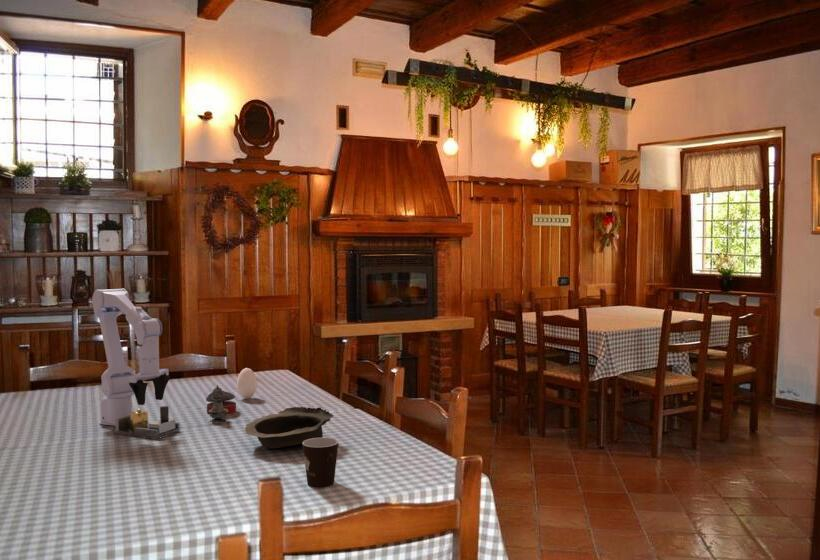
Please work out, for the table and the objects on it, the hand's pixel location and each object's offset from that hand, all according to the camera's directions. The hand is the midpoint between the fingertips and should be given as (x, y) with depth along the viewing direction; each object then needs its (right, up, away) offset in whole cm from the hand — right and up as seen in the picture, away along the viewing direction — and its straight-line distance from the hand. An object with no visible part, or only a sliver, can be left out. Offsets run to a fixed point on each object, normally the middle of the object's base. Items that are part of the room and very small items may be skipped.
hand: (150, 402), depth 216 cm
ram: (+4, -8, -1) cm, 9 cm away
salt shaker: (+17, -9, +15) cm, 24 cm away
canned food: (+14, -9, +28) cm, 33 cm away
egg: (+18, -8, +50) cm, 54 cm away
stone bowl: (+45, -10, -13) cm, 48 cm away
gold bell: (-4, -9, +2) cm, 10 cm away
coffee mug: (+59, -12, -48) cm, 77 cm away
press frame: (-2, -10, +1) cm, 10 cm away
